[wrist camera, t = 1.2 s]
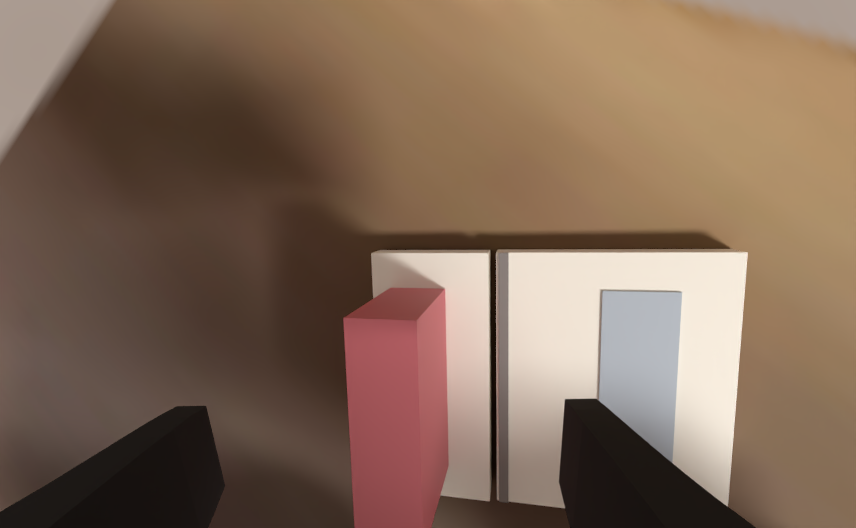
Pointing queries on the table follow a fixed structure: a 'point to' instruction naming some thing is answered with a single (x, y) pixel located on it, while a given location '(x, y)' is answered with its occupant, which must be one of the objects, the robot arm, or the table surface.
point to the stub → (420, 386)
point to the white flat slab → (617, 357)
